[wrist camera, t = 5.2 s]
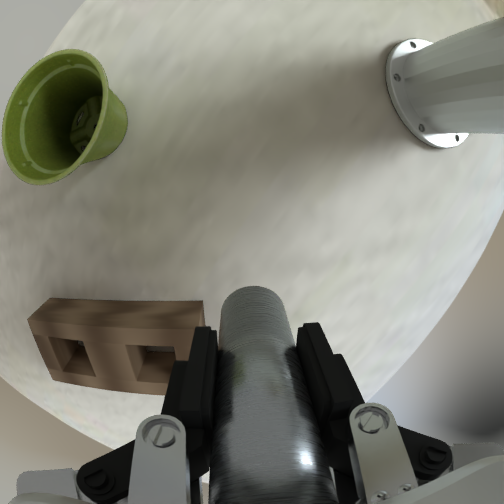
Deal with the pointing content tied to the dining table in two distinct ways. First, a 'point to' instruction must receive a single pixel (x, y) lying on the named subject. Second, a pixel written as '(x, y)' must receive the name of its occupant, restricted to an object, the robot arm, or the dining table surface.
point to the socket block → (115, 341)
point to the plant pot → (61, 118)
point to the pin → (264, 411)
